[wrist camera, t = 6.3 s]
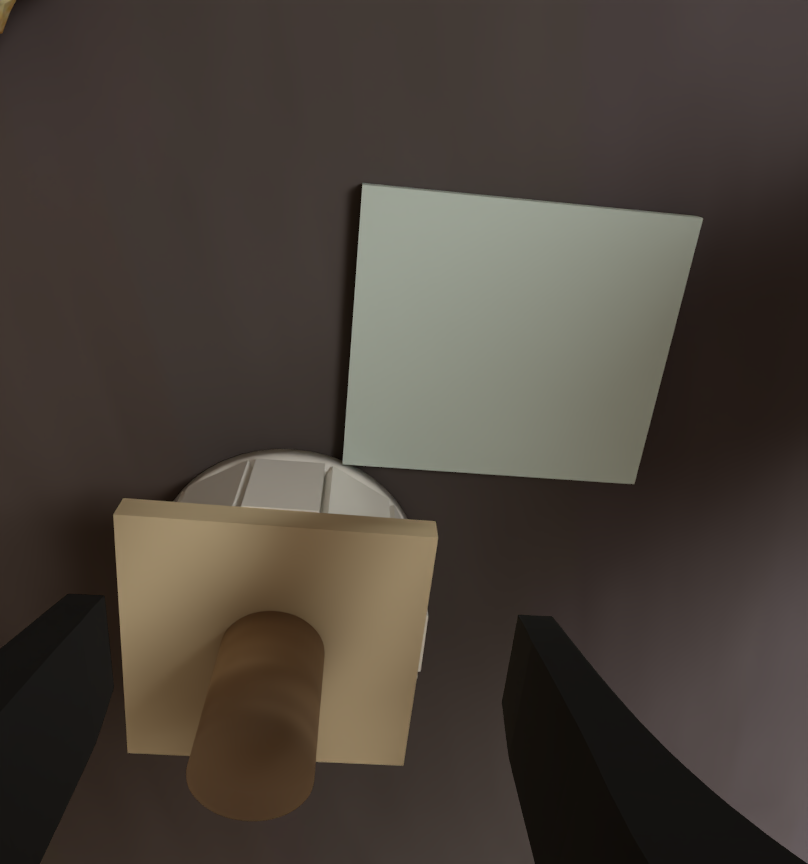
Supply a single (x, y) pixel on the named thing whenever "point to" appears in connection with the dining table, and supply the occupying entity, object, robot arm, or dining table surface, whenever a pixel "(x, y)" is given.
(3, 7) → the croissant
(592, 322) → the plate
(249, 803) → the lid
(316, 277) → the dining table surface
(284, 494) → the bowl
